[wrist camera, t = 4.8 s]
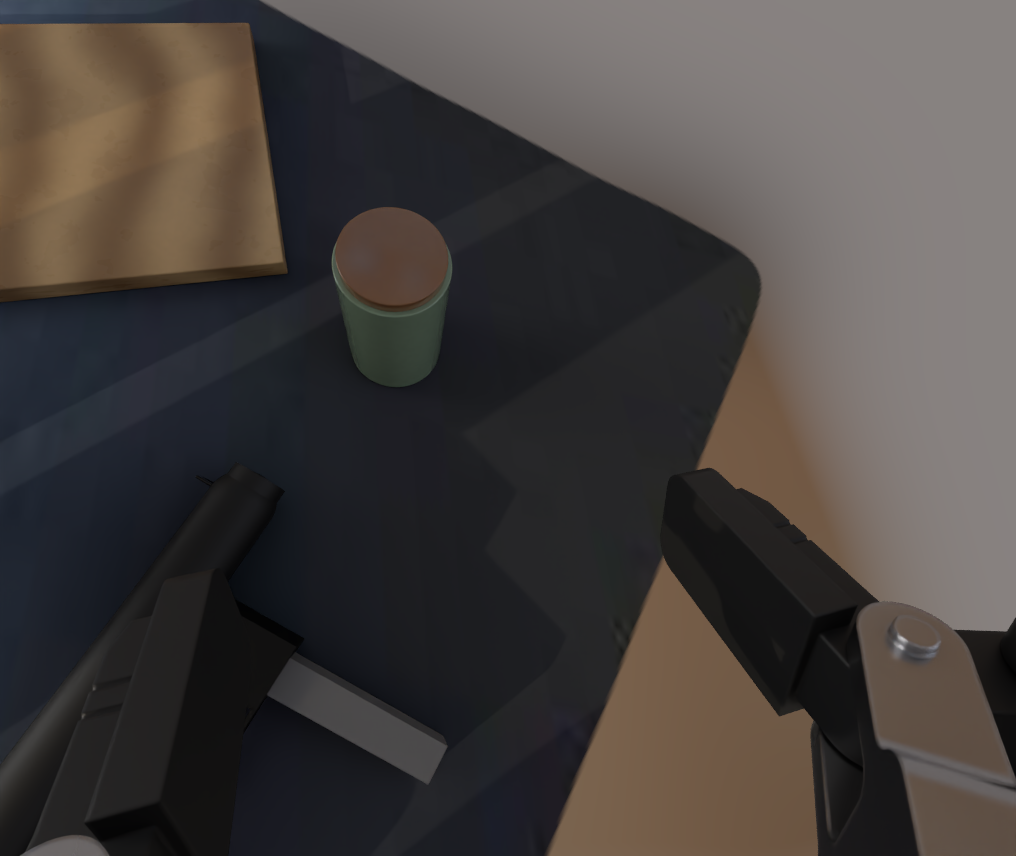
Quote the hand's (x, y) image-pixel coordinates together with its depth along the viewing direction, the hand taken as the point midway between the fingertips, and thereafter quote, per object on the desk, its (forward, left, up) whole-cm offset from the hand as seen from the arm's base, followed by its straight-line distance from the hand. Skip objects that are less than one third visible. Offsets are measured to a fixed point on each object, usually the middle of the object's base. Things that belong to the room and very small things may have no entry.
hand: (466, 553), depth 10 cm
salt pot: (+1, +12, -19) cm, 22 cm away
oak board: (-16, +25, -19) cm, 35 cm away
